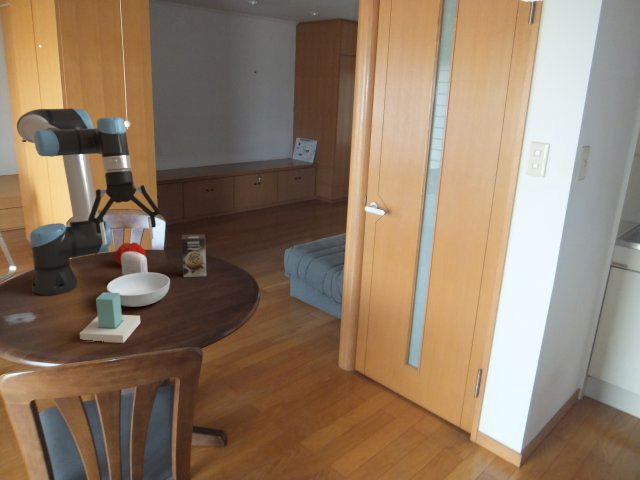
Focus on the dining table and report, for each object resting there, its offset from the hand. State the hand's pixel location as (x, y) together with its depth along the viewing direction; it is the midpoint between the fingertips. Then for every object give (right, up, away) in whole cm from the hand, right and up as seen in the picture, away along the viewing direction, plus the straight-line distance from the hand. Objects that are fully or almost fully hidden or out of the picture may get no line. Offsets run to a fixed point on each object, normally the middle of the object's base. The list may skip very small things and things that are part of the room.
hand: (128, 241), depth 150 cm
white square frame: (-7, -28, +3) cm, 29 cm away
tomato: (-21, -10, +58) cm, 63 cm away
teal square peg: (-7, -28, +3) cm, 29 cm away
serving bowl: (-6, -21, +25) cm, 33 cm away
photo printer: (-13, -16, +40) cm, 45 cm away
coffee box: (+7, -14, +50) cm, 53 cm away
